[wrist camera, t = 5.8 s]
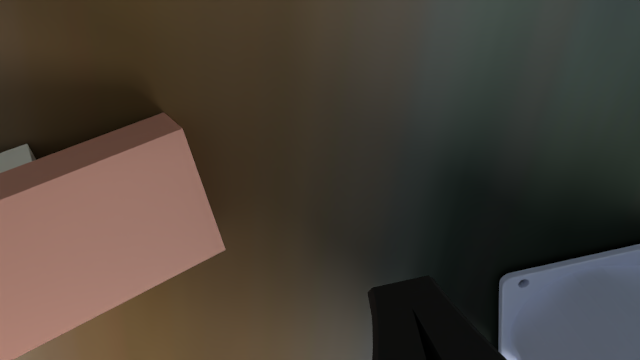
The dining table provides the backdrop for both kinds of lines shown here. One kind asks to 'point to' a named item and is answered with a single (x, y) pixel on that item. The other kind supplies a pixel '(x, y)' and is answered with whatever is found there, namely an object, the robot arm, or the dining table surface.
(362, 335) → the dining table surface
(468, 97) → the dining table surface
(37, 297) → the domino
